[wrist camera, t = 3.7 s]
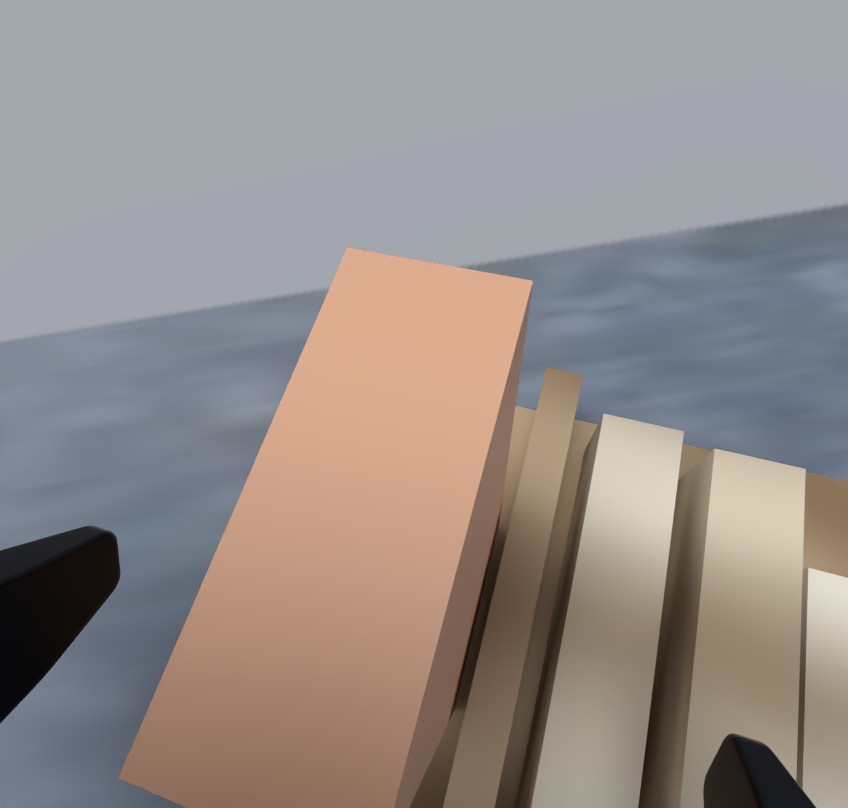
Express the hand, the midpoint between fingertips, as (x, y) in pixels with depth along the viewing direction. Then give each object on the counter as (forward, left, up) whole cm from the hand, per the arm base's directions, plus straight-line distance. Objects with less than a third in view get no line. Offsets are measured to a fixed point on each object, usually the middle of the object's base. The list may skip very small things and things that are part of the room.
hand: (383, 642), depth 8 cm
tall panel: (+1, -1, -8) cm, 8 cm away
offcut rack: (-2, -4, -10) cm, 11 cm away
